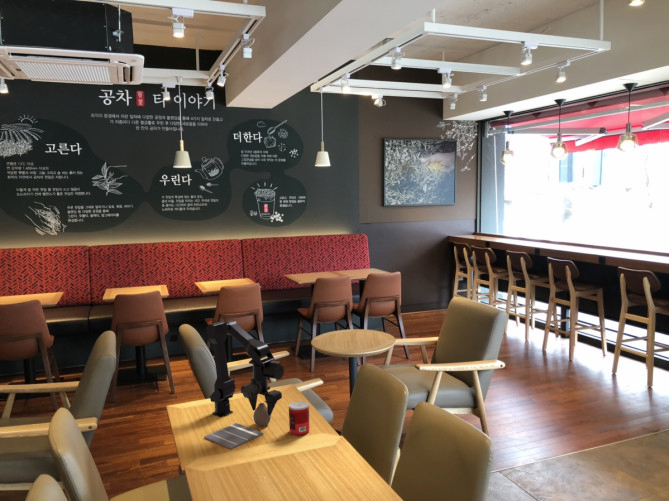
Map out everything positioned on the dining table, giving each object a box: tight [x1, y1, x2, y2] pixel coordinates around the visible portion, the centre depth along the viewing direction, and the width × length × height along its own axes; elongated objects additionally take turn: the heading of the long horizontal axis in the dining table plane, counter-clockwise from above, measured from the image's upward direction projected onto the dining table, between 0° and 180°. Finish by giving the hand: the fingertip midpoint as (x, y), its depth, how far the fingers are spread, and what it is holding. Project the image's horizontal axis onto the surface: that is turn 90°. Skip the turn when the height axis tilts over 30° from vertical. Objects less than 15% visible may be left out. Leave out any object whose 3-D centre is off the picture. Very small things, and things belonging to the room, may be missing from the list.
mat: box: [203, 422, 264, 450], centre depth 204 cm, size 16×16×1 cm
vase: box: [253, 402, 272, 428], centre depth 214 cm, size 7×7×9 cm
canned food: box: [288, 400, 310, 437], centre depth 206 cm, size 8×8×11 cm
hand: (261, 412), depth 214 cm, fingers open, 9 cm apart
